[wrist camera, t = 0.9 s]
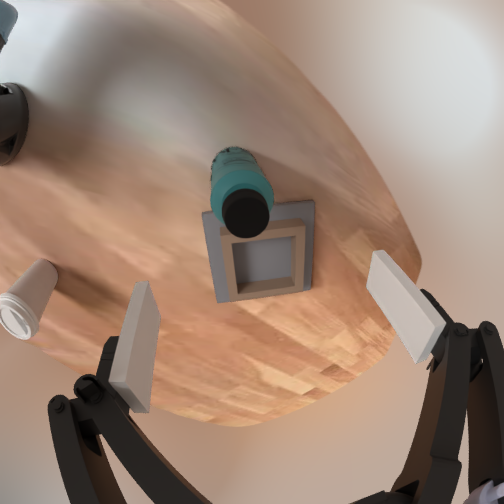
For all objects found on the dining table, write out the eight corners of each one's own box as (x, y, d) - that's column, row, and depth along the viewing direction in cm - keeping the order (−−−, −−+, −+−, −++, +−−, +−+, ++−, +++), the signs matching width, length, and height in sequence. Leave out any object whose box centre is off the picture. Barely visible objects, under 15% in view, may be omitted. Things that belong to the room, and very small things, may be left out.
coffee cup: (67, 295, 48) (40, 348, 35) (32, 286, 45) (2, 334, 32) (61, 256, 43) (27, 309, 30) (24, 248, 41) (-14, 294, 28)
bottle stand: (201, 212, 43) (201, 223, 40) (312, 200, 45) (321, 209, 41) (217, 299, 53) (218, 314, 49) (308, 286, 54) (315, 299, 51)
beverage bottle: (259, 177, 42) (295, 239, 25) (218, 191, 42) (223, 263, 25) (247, 137, 38) (277, 171, 21) (203, 152, 38) (196, 197, 21)
